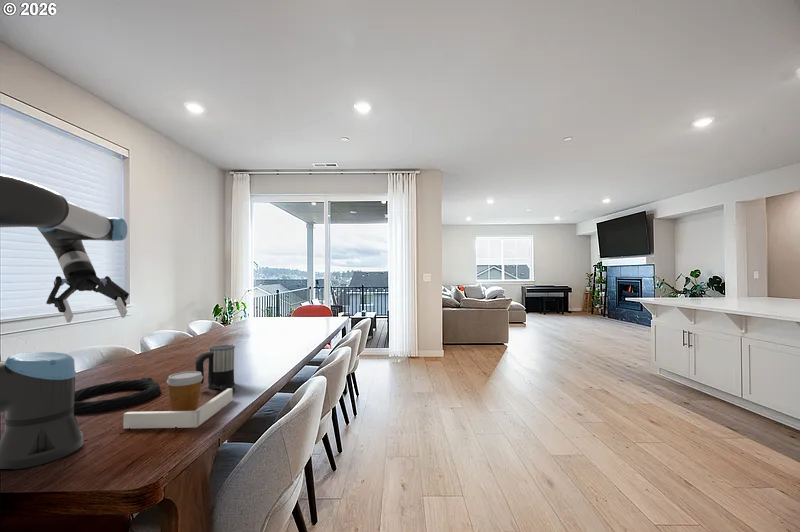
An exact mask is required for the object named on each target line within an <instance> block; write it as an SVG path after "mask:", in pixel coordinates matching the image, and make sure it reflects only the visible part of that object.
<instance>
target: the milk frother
mask: <svg viewBox="0 0 800 532" xmlns="http://www.w3.org/2000/svg"><path fill="white" fill-rule="evenodd" d="M235 348H236V346H235V345H231V344H225V345H215V346H210V347H209V348H208V349H209V352H208V351H207V352H204V353H201V354H199V355H198V357H196V360H195V362H194V363H195V371H198V372H201V373H202V376H203V378H202V381H201V385H203V384H204V382H205V379H204V378H205V376H204V375H205V374H204V373H205V371H204V363H205V361H206V360H207V359H208V368H207V369H208V370H207V371H208V373H207V383H208V385H207V388H208V389H212V390H216V389H217V390H222V391H225V390H226V389H228V388H232V391H235V390H236V386H235V384H236V383H235Z"/></svg>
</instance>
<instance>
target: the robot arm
mask: <svg viewBox="0 0 800 532" xmlns="http://www.w3.org/2000/svg"><path fill="white" fill-rule="evenodd" d="M0 228H37V230H38V231H39V232H40V234H41V235H42V237H43V238H44V239H45V240H46V242H47V243H48V245H49V246H50V248H51V249H52V250H53V252H54V254H55V256H56V258H57V260H58V264H59V265H60V268H61V271H62V273H63V275H64V278H63V277H61V276H59V275H57V276H55V279H54V281H53V288H52V289H51V291H50V293H49V295H48V297H47V300H46V305H53V306H54V308H56V309H57V310H58V312H59V313H63V315H64V316H63V317H64V318H65V321H66V323H71V322H72V320H73V318H74V313H73V312H72V311H73V310H72V309H71V306H70V303H69V301H68V298H69V297H70V296H71V295H72V294H74V293H75V292H76V291H79V292H85V291H87V292H95V293H99V294H101V295H103V296H105V297H107V298H109V299H110V300H111V299H112V300H114V301H115V302H114V304H115V306H116V308H117V310H118V311H117V312H118V313H119V315H120V317H121V318H125V317H126V315H127V314H128V310H127V308H126V307H127V302H126V301H127V300H128V298H129V296H130V293H129V292H127V291H126V290H125V289H124V288H122V287H121V286H119V284H117V283H115V282H114V281H113V280H112V279H111V277H110V276H105V277H103V278H100V277H98V276H97V272H96V270H95V268H94V265H93V264H92V261H91V259H90V257H89V255H88V253H87V251H86V249H85V246H84V244H83V241H106V242H107V241H109V242H110V241H111V242H118V241H120V242H121V241H123V240H126V238H127V235H128V225H127V222H126V220H125V219H124V218H121V217H115V216H113V217H107V216H104V215H102V214H98V213H97V212H94V211H91V210H89V209H87V208H85V207H82V206H80V205H77V204H75V203H73V202H70V201H68V200H67V199H66V198H65V197H64V196H63V195H62V194H61V193H59V192H57V191H54V190H52V189H50V188H47V187H45V186H42V185H39V184H37V183H34V182H31V181H28V180H25V179H22V178H18V177H15V176H10V175H5V174H0ZM65 284H66V285H67V286H69V287H68V288H67V289H66V290H64V291H63V292H62V293H61V294H60V295H58V297H56V296H57V294H58V292H59V290H60V288H61V287H62V286H64V285H65ZM76 374H77V373H76V367H75V359H74V358H73V356H71V355H69V354H67V353H63V352H55V351H50V352H49V351H37V352H23V353H17V354H13V355H10V356H8V357H7V358H6V360H2V358H1V355H0V414H4V415H5V417H4V420H5V423H4V430H3V432H2V434H1V436H0V469H14V470H21V469H27V468H31V467H32V468H33V467H37V466H41V465H43V464H47V463H51V462H53V461H56V460H59V459H62V458H64V457H67V456H69V455H71V454H73V453H75V452H76V451H78V450H79V449H81V448H82V447H83V446H84V434H83V432H82V431H81V430H80V426H79V424H78V421H77V419H76V416H75V415H76V414H74V398H75V391H76V390H75V389H76Z"/></svg>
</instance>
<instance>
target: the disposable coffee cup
mask: <svg viewBox="0 0 800 532" xmlns="http://www.w3.org/2000/svg"><path fill="white" fill-rule="evenodd" d="M202 378H203V376H202V373H201V372H198V371H196V370H191V371H181V372H177V373H176V372H175V373H171V374H170V375H168V378H167V380H166V384H167V386H168V392H169V401H170V402H169V403H170V407H171V411H195V410H196V409H198V408H199V407H198V406H199V398H200V392H201V385H202V384H201V381H202Z"/></svg>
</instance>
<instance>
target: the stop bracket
mask: <svg viewBox="0 0 800 532" xmlns="http://www.w3.org/2000/svg"><path fill="white" fill-rule="evenodd" d="M231 402H233V390H232V388H228V389H226V390H225V391H224V390H222V392H220V393H219V394H216V396H215V397H213V398H211V399H210V400H208V401H207V402H205V403H204V404H203V405H201V406H200V407H197V409H196V410H195V411H172V410H170V411H168V410H167V411H166V410H163V411H162V410H161V411H158V410H156V411H127V412H124V413H123V426H122V429H125V430H126V429H129V428H130V429H173V428H174V429H176V428H175V427H177V429H179V428H181V429H182V428H183V429H184V428H187V429H188V428H191V429H192V428H198V427H199V426H200V425H202V424H204V422H206V421H207V420H208V419H210V418H211V417H213V416H214V415H215V414H216V413H218V412H219V411H221V410H222V409H223V408H224V407H225V406H227V405H229V404H230V403H231Z"/></svg>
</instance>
